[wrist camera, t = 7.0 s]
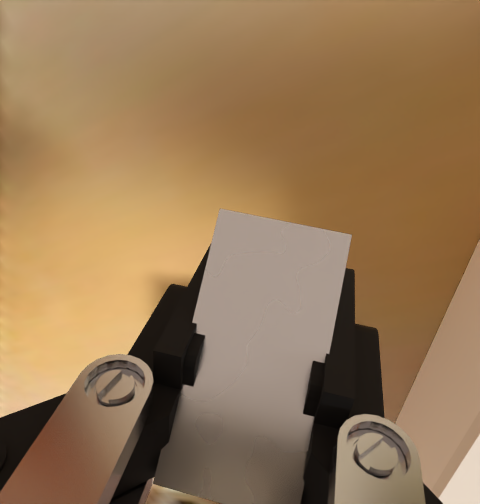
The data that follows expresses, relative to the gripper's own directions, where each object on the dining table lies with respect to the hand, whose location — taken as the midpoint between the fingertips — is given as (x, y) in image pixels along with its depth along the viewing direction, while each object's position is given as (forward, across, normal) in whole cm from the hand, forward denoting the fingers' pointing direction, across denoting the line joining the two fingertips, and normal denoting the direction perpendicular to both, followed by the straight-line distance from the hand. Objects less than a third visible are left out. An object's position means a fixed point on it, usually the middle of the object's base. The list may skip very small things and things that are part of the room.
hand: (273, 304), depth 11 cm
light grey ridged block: (+2, 0, +3) cm, 4 cm away
